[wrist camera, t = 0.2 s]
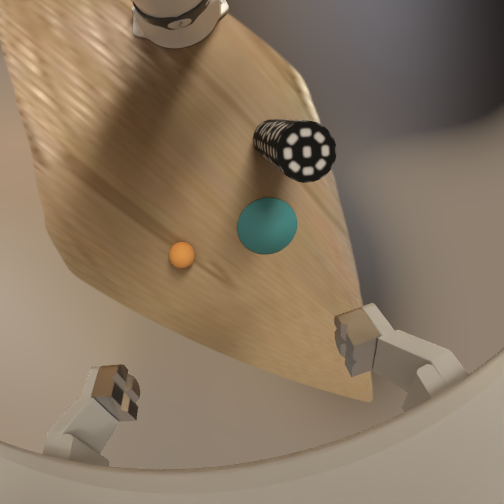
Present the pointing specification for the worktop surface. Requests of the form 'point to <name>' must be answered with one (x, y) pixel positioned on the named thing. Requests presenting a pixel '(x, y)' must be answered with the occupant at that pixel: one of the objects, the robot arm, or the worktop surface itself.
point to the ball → (181, 255)
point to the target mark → (267, 225)
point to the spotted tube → (296, 148)
